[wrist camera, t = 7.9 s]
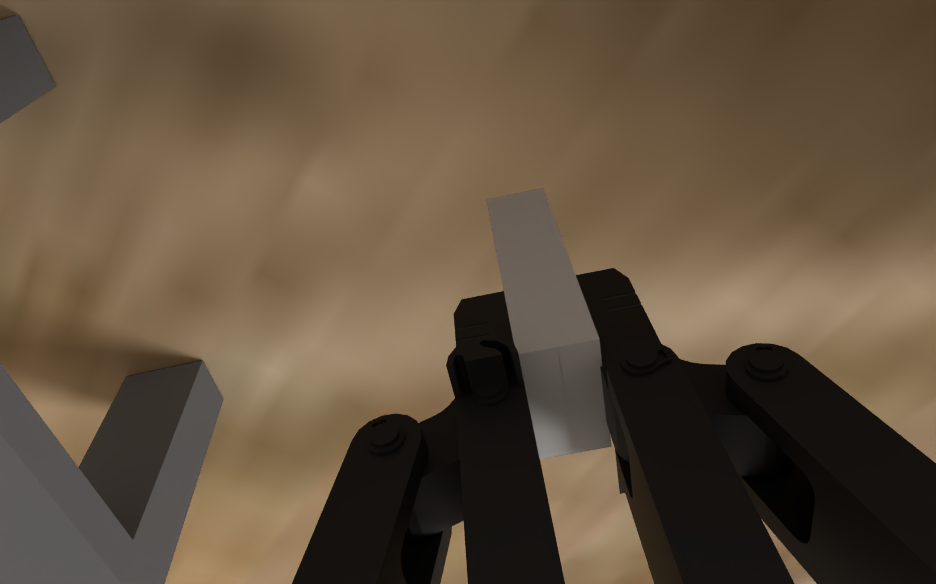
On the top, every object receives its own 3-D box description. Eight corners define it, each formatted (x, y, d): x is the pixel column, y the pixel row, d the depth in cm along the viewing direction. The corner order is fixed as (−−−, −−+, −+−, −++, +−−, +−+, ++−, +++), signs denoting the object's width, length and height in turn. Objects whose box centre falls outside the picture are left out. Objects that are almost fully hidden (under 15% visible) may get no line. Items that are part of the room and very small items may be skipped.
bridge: (18, 14, 19) (-250, 124, 11) (223, 399, 26) (152, 621, 19) (-86, 38, 19) (-426, 165, 11) (149, 414, 27) (49, 642, 19)
